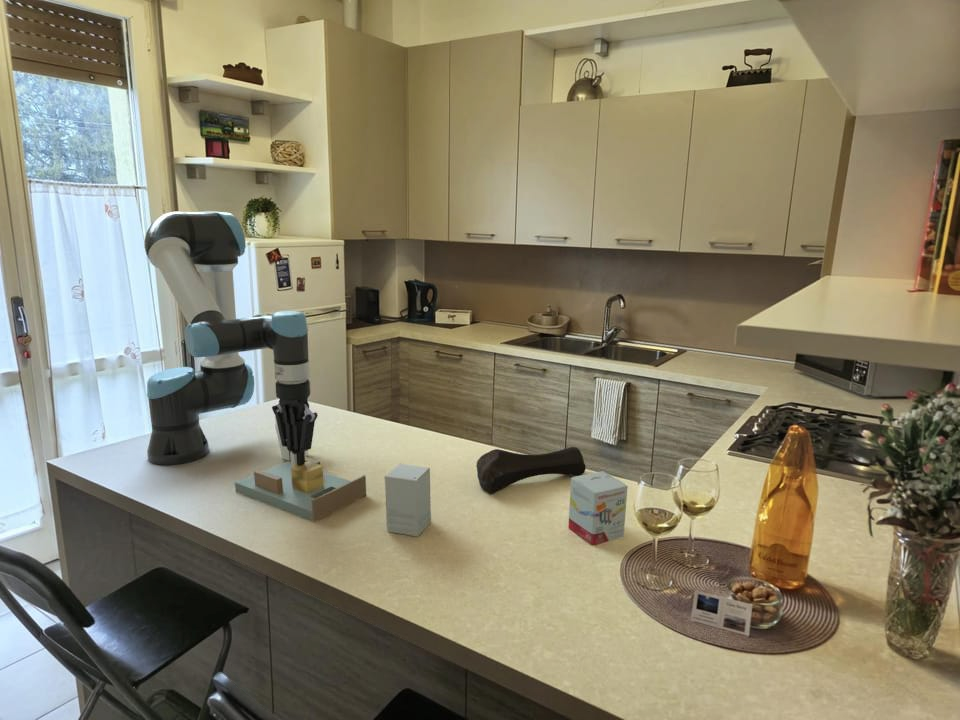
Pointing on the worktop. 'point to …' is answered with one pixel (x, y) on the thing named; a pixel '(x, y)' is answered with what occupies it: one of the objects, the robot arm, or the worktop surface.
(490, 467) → the dark brown bone
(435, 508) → the worktop surface
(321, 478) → the ochre block
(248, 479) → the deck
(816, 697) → the worktop surface
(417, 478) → the supplement box
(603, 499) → the ink box
